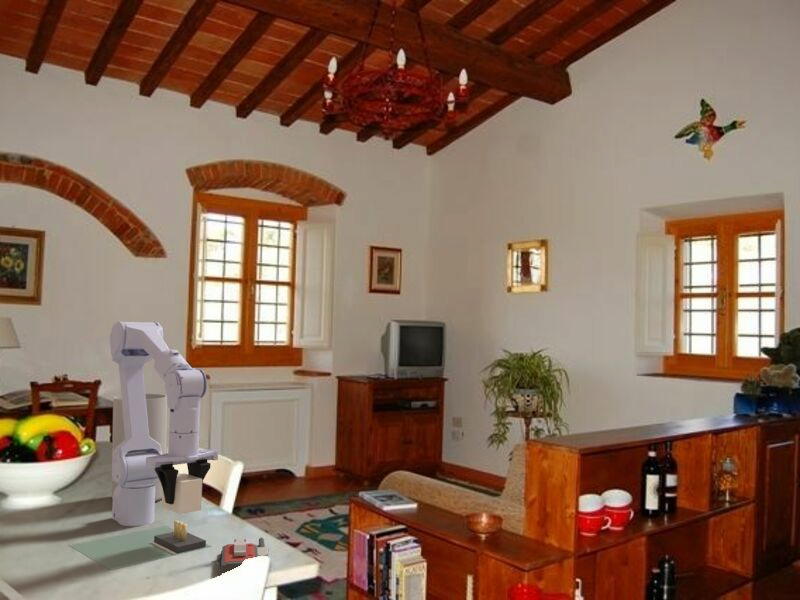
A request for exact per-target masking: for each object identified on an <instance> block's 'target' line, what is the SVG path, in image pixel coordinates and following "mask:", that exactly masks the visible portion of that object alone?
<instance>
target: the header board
mask: <svg viewBox="0 0 800 600" xmlns="http://www.w3.org/2000/svg"><path fill="white" fill-rule="evenodd" d="M173 522H174V523H173V528H172V527H169V526H166V525H163V526H158V527H152V528H147V529H143V530H138V531H132V532H128V533H123V534H119V535H118V534H117V535H113V536H108V537H103V538H97V539H93V540H88V541H83V542H78V543H74V544H69V545H68V546H69V547H71V548H73V549H75V551H77V552H79V553H81V554H82V555H84V556H86V557H87V558H89V559H91V560H93V562H94V561H95V562H96V563H98V564H99V565H101V566H102V567H104V568H106V569H107V570H108V571H113V570H118V569H122V568H126V567H130V566H135V565H138V564H143V563H147V562H151V561H157V560H161V559H165V558H170V557H173V556H177V555H182V554H188V553H190V552H195V551H199V550H203V549H207V548H211V547H212V546H211V545H209V544H207V540H206V539H204V538H202V537H201V538H200V537H198V536H196V535H194V534H192V533H190V532H188V531H187V529H188V524H187V523H184V522H183V521H180V520H174V521H173Z"/></svg>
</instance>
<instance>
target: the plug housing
mask: <svg viewBox="0 0 800 600" xmlns="http://www.w3.org/2000/svg"><path fill="white" fill-rule="evenodd" d="M202 493H203V482H202V479H201V478H198V477H195V476H192V475H189V474H188V473H186V472H180V473H179V472H178V475H177V479H176V484H175V498H174V504H168V503H165V497H164V492H163V488H162V499H161V507H162V508H164V509H167V510H169V511H172V512H174V513H176V514H179V515H182V514H187V513H194V512H198V511H201V510H202V498H203V497H202V496H203V494H202Z"/></svg>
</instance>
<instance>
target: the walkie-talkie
mask: <svg viewBox="0 0 800 600" xmlns="http://www.w3.org/2000/svg"><path fill="white" fill-rule="evenodd" d="M221 549H222V550H221V552H220V563H221V564H220V575H221V574H222V573H225V572H227V571H230V570H232V569H234V568H236V567H238V566H240V565H241V564H242V562H243V561H244V560H245V559H248V558H253V557H257V556H268V557H269V552H270V551H269V547H268V546H265V538H263V537H259V539H258V545H256V544H254V543H247V538H235V539H233V543H227V544H226V545H224V546H222V548H221Z"/></svg>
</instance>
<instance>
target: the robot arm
mask: <svg viewBox="0 0 800 600" xmlns="http://www.w3.org/2000/svg"><path fill="white" fill-rule="evenodd" d="M109 345H110V354H111V360H112V361H113V362H115V363H116V364H117V365H118V372H119V382H120V383H119V384H120V394H121V397H122V408H123V420H124V431H125V440H124V441H123V442H122V443H121V444H120V445H118V446H117V447H116V448H115V450H114V451H113V462H112V461H111V478H112V477H113V480H114V481H115V482H116V483H117V484H118V485H117V487H116V488H115V490H114V492H113V500H112V509H111V511H112V512H111V519H112V520H114V521H116V522H117V523H118V524H119V525H121V526H125V527H141V526H147V525H150V524H152V523H153V522H154V521H155V507H156V501H155V486H156V484H158V483H159V480H160V482H161V485H162V488H163V492H164V497H165V503H168V504H174V498H175V484H176V479H177V475H178V474H179V469H176V468H175V466H177V465H184V464H186V466H187V472H188V473H187V474H189V475H192V476H195V477H198V478H201V479H202V483H203V482H204V479H205V478H206V476H207V474H208V473H209V471H210V469H211V462H208V461H218V460H219V450H218V449H213V448H211V449H199V445H200V444H199V443H200V427H201V426H200V424H201V399H202V398H204V397H205V395H206V392H207V390H208V380H207V374H206V373H205V371H204V370H203V369H202V368H196V367H195V368H193V367H192V366H191V365H190V364H189V363H188V362H187V360H186V359H185V358H184V357H183V356H182V354H180V352H179V350H178V349H170V348H169V346H168V345H167V343H166V342H165V340H164V329H163V326H162V325H161V323H160V322H158V321H153V322H151V321H150V322H147V321H146V322H145V321H144V322H143V321H142V322H141V321H121V320H118V321H116V322H115V323H114V324H113V325H112V327H111V331H110V334H109ZM152 360H154V363H153V367H154V370H155V371H156V373H157V374H158V375H159V376H160V378H161V379H162V381H163V382H164V389H165V395H167V409H168V408H169V419H168V420H169V421H168V422H169V423H168V424H169V425H168V426H169V427H168V447H167V448H168V450H167V452H166V453H165V454H162V449H161V445H160V444H159V443H158V442H156V441H155V440H153V439H152V438H151V437H149V429H148V418H147V408H146V397H145V394H146V388H145V377H144V365H145V364H146V363H148V362H151V361H152ZM135 452H146V453H137V454H128V455H126V453H135Z"/></svg>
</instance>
